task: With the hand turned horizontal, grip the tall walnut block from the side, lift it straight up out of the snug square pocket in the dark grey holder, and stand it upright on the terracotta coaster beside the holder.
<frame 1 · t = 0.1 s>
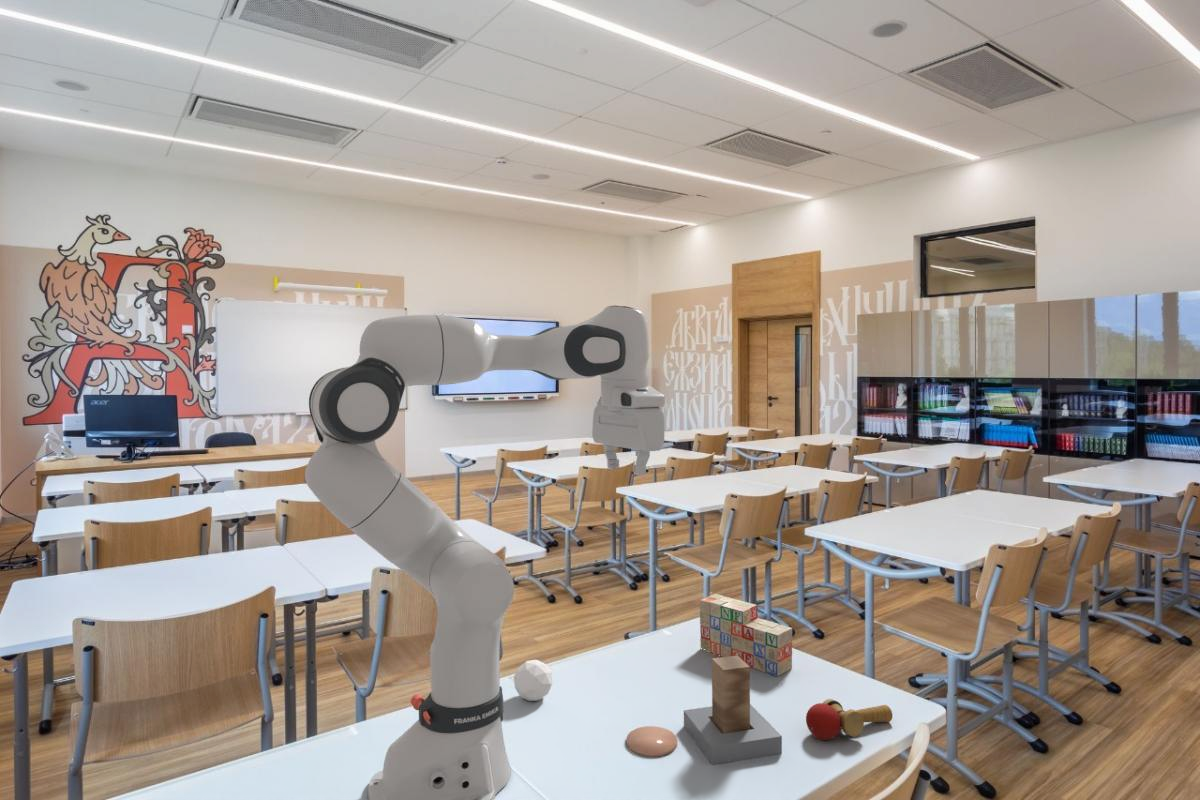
hand: (625, 471, 124), 48 cm above the table, tool pointing down, fingers open, 8 cm apart
stack of blocks: (744, 659, 157), on the table
kendama: (849, 731, 125), on the table
geometric ball: (533, 699, 139), on the table
walnut block: (730, 701, 122), in the pocket holder
pocket holder: (730, 739, 122), on the table
terracotta coaster: (651, 742, 122), on the table
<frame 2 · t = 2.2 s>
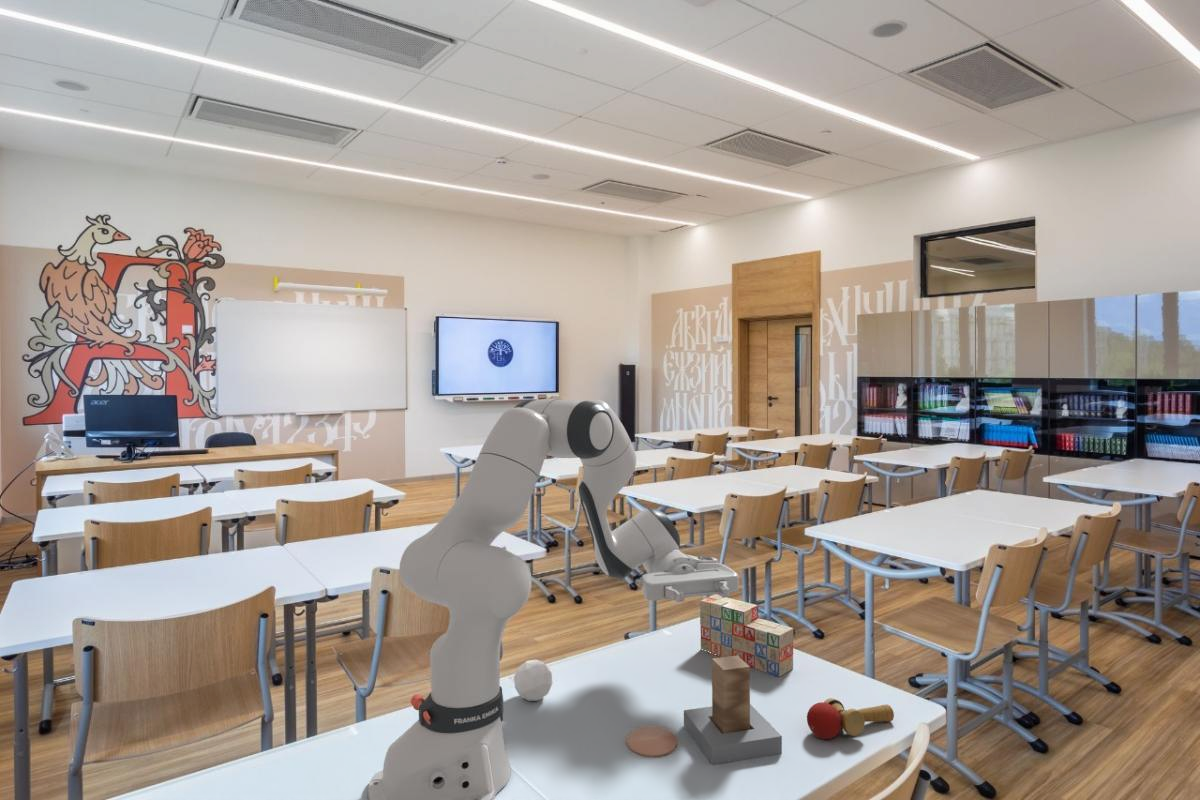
hand: (703, 595, 133), 22 cm above the table, tool horizontal, fingers open, 8 cm apart
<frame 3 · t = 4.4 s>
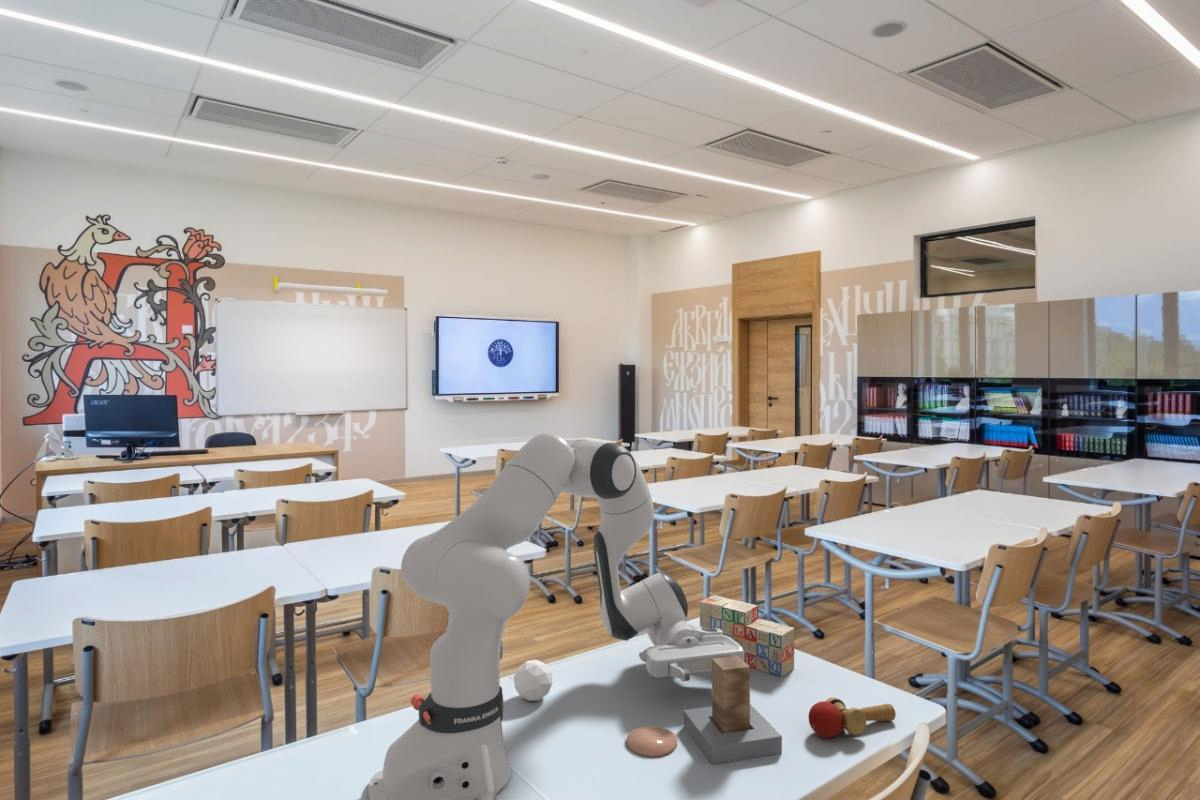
hand: (709, 674, 131), 8 cm above the table, tool horizontal, fingers open, 8 cm apart
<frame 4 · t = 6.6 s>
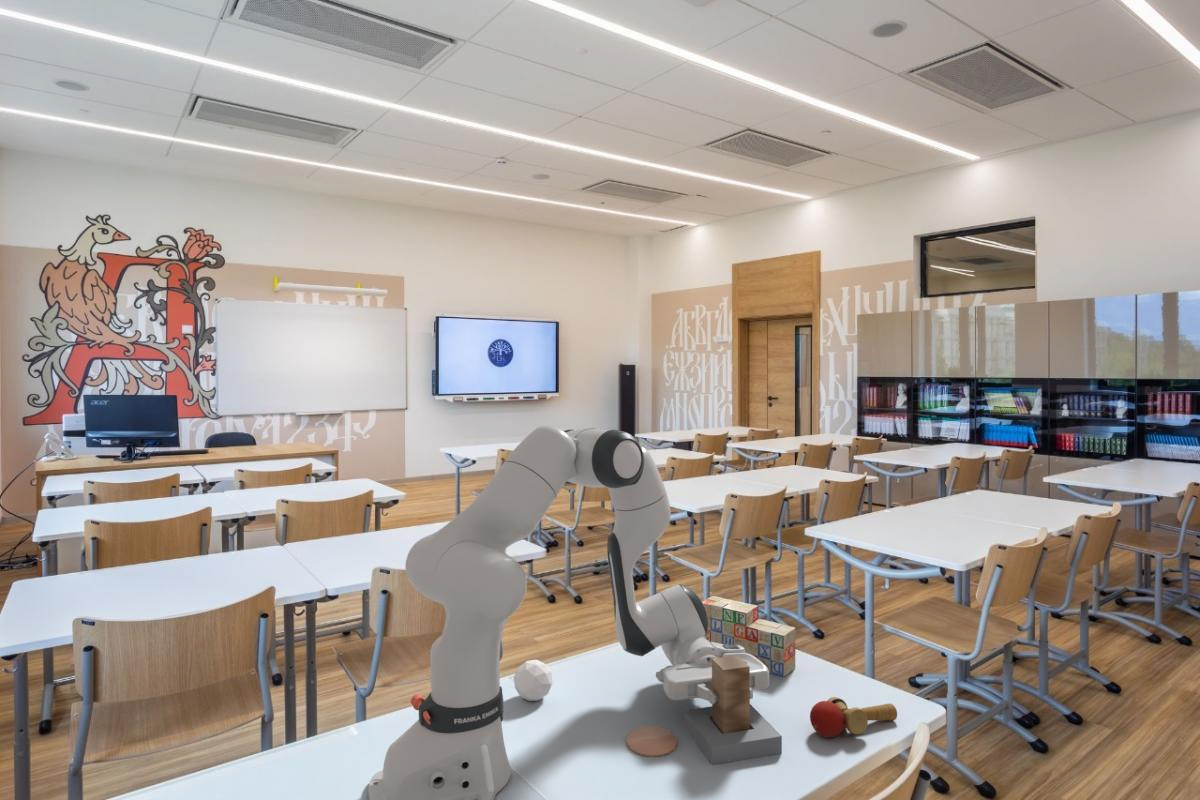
hand: (732, 697, 121), 8 cm above the table, tool horizontal, fingers closed on walnut block, 5 cm apart
walnut block: (730, 700, 122), in the pocket holder, touching gripper
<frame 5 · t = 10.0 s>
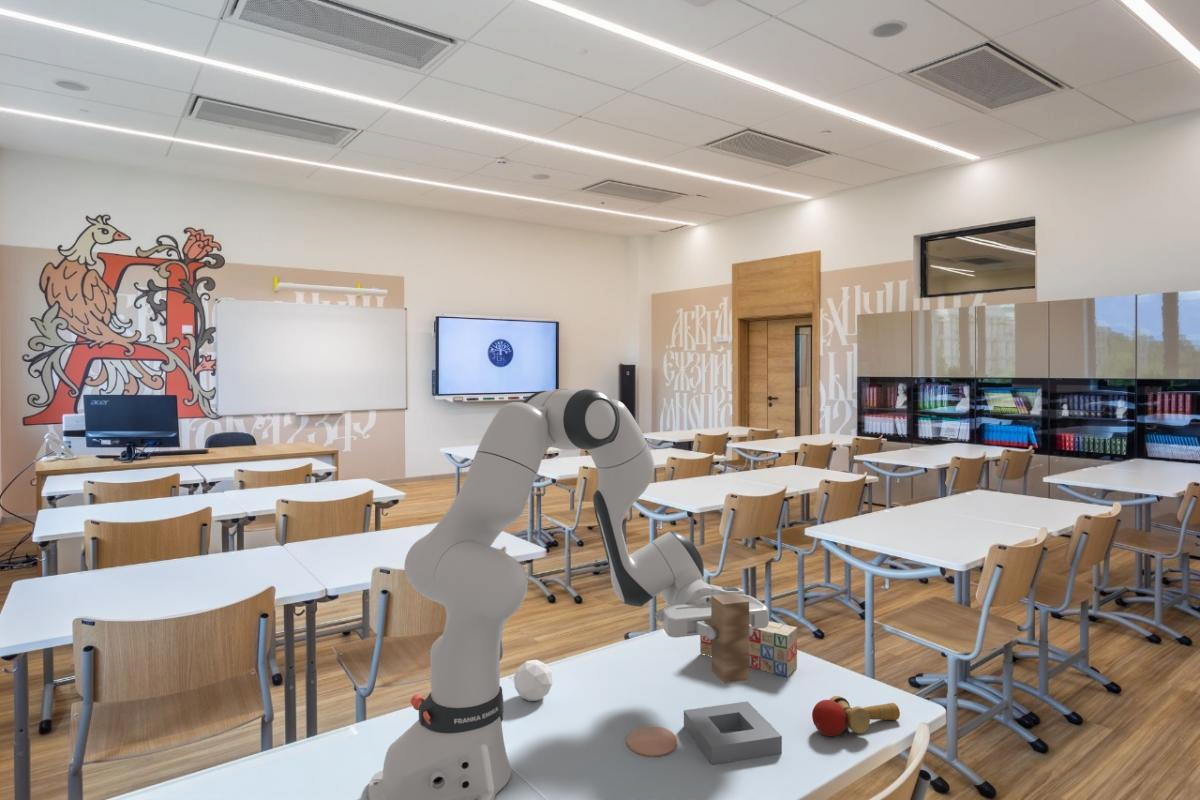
hand: (732, 633, 121), 20 cm above the table, tool horizontal, fingers closed on walnut block, 5 cm apart
walnut block: (730, 637, 122), point 19 cm above the table, touching gripper
when the fingers open (10 cm above the table, at t = 13.5 s): walnut block drops 1 cm, resting on terracotta coaster.
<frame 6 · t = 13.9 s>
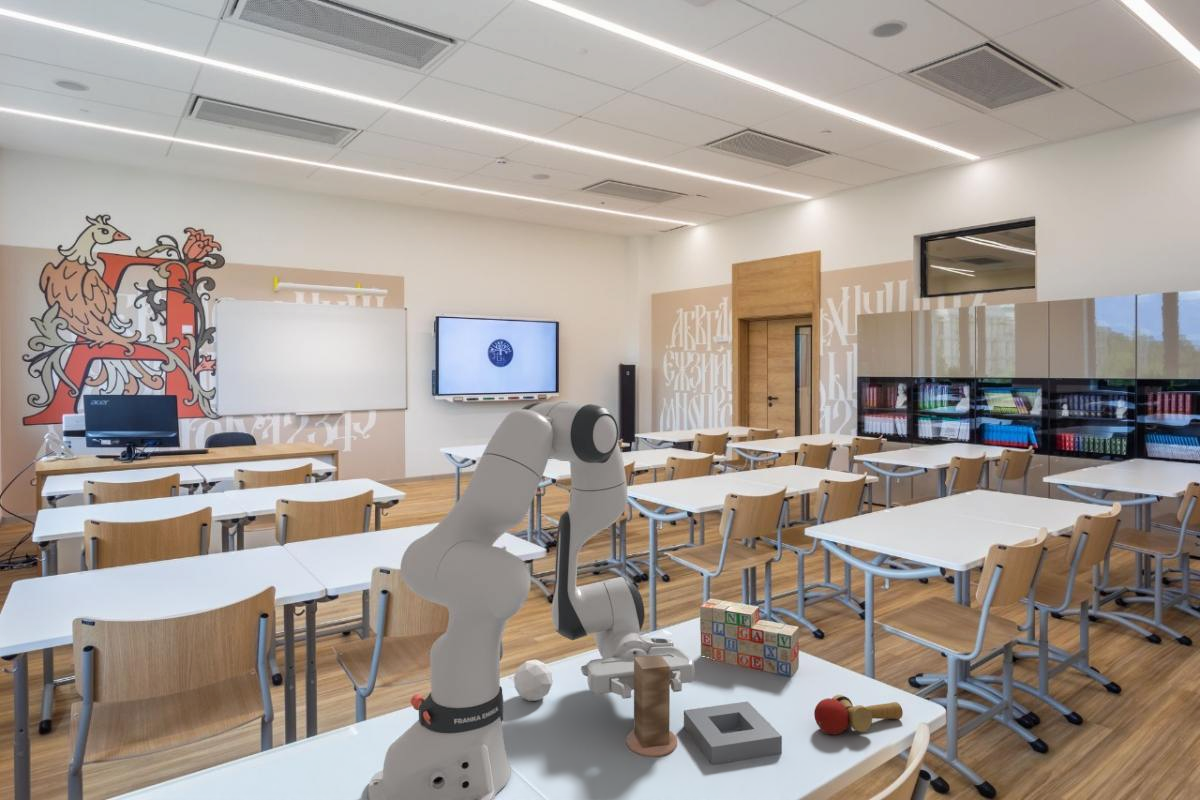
hand: (652, 690, 120), 10 cm above the table, tool horizontal, fingers open, 8 cm apart
walnut block: (651, 700, 121), on the terracotta coaster, point 8 cm above the table
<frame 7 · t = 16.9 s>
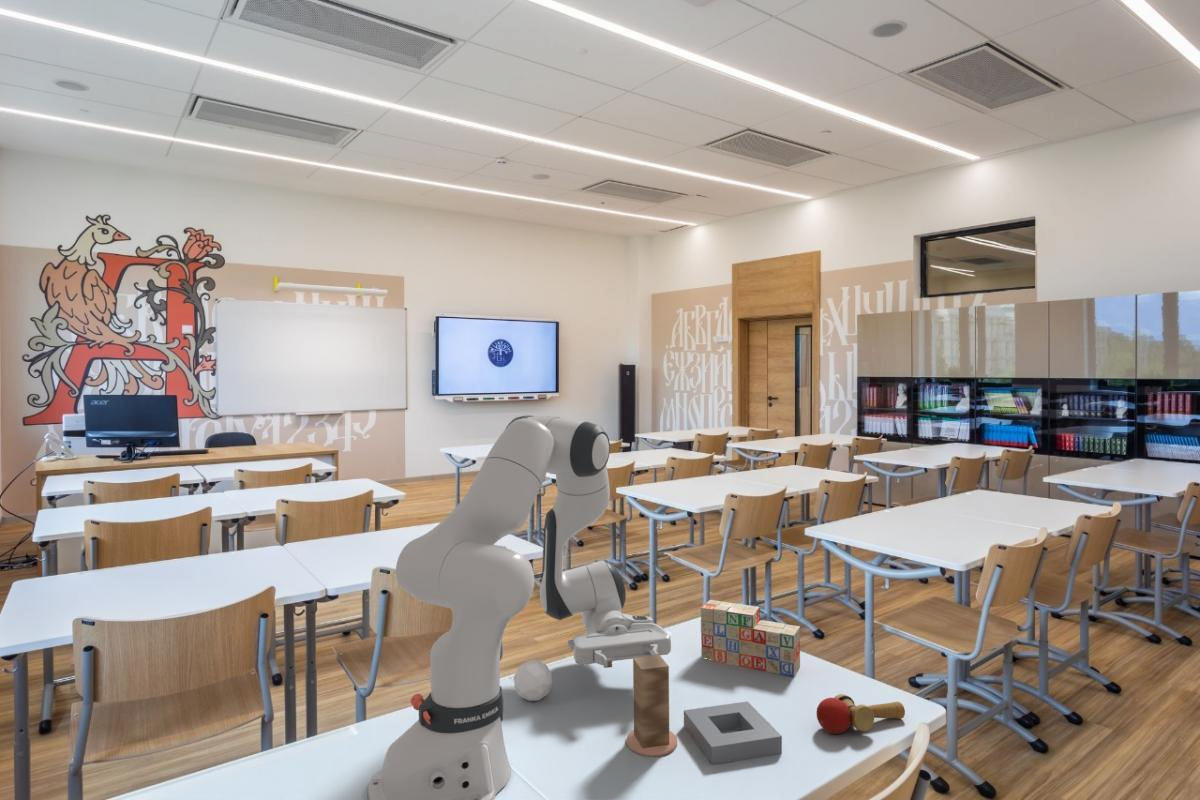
hand: (632, 661, 133), 10 cm above the table, tool horizontal, fingers open, 8 cm apart
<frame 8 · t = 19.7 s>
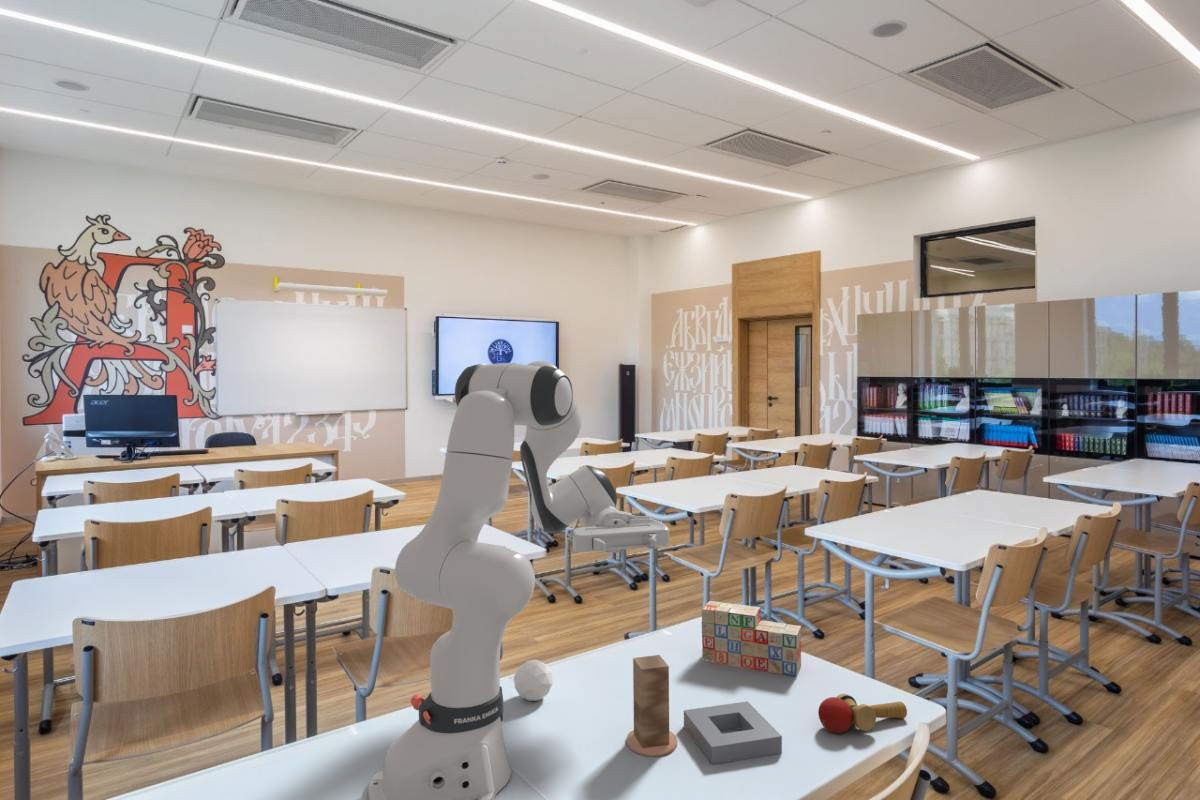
hand: (630, 546, 134), 32 cm above the table, tool horizontal, fingers open, 8 cm apart
at the end: walnut block 0.1 cm off-centre on the terracotta coaster, point 7.6 cm above the terracotta coaster's base; walnut block tilted 0°; the gripper is holding nothing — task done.
